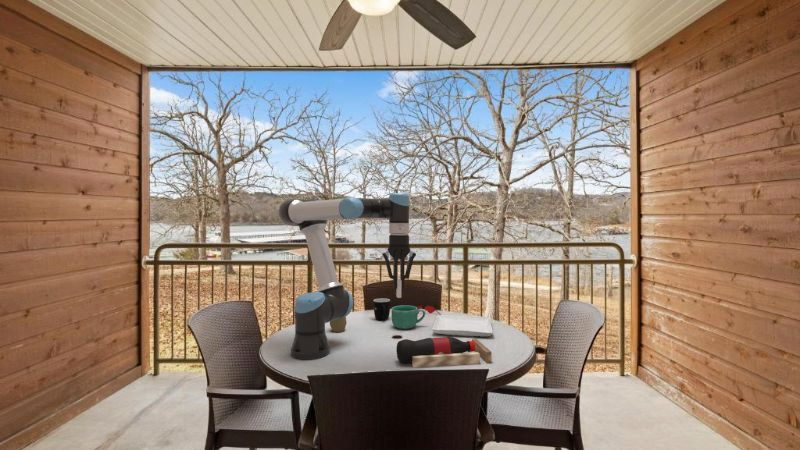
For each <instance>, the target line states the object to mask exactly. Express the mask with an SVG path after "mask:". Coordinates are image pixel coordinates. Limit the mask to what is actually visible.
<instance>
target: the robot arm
mask: <svg viewBox="0 0 800 450" xmlns="http://www.w3.org/2000/svg"><path fill="white" fill-rule="evenodd" d="M410 206H411V205H410V195H409V194H408V193H406V192H392V193H389V195H388V198H369V197H367V198H366V197H355V196H352V197H345V198H338V199H336V198H335V199H324V200H317V199H314V198H311V199H305V198H304V199H302V198H290V199H286V200H284V201H283V202H282V203H281V204H280V205H279V207H278V216H279V219H280V221H281V222H282V223H284V225H286V226H290V227H299V231H300V232H299V233H301V234H303V235H304V237H305V241H306V245H307V248H308V251H309V255H310V256H309V257H310V258H311V259H310V260H311V263H312V267H313V270H314V274H315V278H316V281H317V285H318V288H317V290H316V291H312V292H305V293H303V294H300V295H299V296H297V297H296V298H295V300H294V308H293V309H294V329H295V330H294V332H295V333H294V337H293V341H292V344H291V347H290V356H291V357H292V358H294V359H297V360H316V359H320V358H324V357H326V356H328V355H329V354H330V349H331V347H330V342H329V340H328V338H327V337H328V336H327V335H326V324H327V323H330V322H331V321H334V320H337V319H342V318H343V317H346V318H347V316H348V315H350V314H351V312H352V309H353V306H354V298H353V296H352V294H351V292H349V291H348V290H347V289H345V288H344V284H343V283H341V282H339V280H338V275H337V271H336V268H335V265H334V261H333V257H332V254H331V250H330V246H329V243H328V239H327V236H326V231H325V229H326V227H327V223H328V222H327V221H329V220H354V219H355V220H356V219H388V221H389V223H388V233H389V236H388V248H387V250H385V252H382V253H381V257H383V259H384V262H385V266H386V267H385V268H386V269H387V274H388V277H389V279H392V280H393V288H394V289H396V290H395V291H396V292H395V295H396V296H395V297H396V298H397V299H401V298H402V289H405V280H406V279H409V278H410V274H411V270H412V268H413V262H414V260H415V258H416V256H417V253H416V252H413V251H412V250H411V247H410V235H409V234H410ZM390 256H391V257H392V260H393V271H392V268H391V263H390V259H389V257H390ZM407 256H409V258H408V259H407V260H408V261H407V266H406V268H405V263H406V261H405V260H406V258H407ZM398 262H399V263H400V264H399V263H398ZM398 264H399V265H398ZM398 266H400V267H398ZM399 271H400V273H398V272H399ZM398 274H399V278H398Z"/></svg>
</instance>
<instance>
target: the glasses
mask: <svg viewBox="0 0 800 450" xmlns="http://www.w3.org/2000/svg"><path fill="white" fill-rule="evenodd" d="M415 307H417V310H419V309H423V305H415ZM423 310H424V311H425V312H427V313H428V314H432V313H434V312H437V314H438V315H442V314H441V313H440V312H439V311H438V310H437V309H436V307H435V306H432V305H431V304H430V305H428V304H427V305H425V306H424V309H423ZM420 312H421V313H423V312H422V311H420Z"/></svg>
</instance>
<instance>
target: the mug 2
mask: <svg viewBox="0 0 800 450" xmlns="http://www.w3.org/2000/svg"><path fill="white" fill-rule="evenodd" d="M415 306H416V305H415ZM415 306H414V305H408V304H407V305H404V304H403V305H402V304H401V305H396V306H393V307H391V310H390V312H391V322H392V323H391V324H392V325H393V326H394V327H396V328H397V329H399V330H409V329H411V328H413V327H415V326H416V325H417V324H419V323H420V322H421V321H423V320H424V318H425V317H426V311H425V309H423V308H422V309H419V310H417V307H415ZM421 311H422V312H421ZM420 312H421V313H422V316H421V317H420V318H418V316H419V313H420Z"/></svg>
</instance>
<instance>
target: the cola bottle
mask: <svg viewBox="0 0 800 450" xmlns="http://www.w3.org/2000/svg"><path fill="white" fill-rule="evenodd" d="M463 341H464V340H461V339H459V338H456V337H453V336H451V335H447V336H442V337H426V338H422V339H418V340H411V339H408V338H407V339H402V340H399V341H398V342H397V343H396V357H397V360H398V362H400V363H402V364H411V363H412V356H424V355H440V354H457V353H473V352H475V343H474V341H472V340H466V341H467V342H463Z"/></svg>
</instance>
